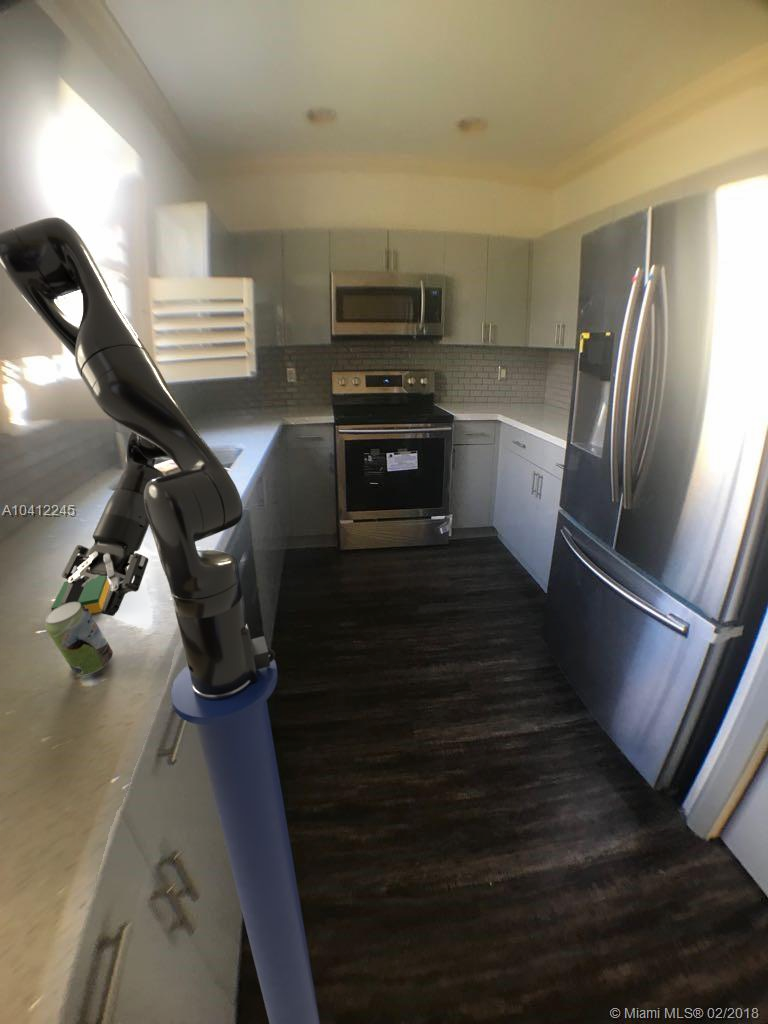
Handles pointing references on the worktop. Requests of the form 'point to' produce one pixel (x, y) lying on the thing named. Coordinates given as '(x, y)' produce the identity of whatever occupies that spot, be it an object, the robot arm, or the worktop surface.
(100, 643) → the beverage can
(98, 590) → the sponge
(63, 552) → the worktop surface
